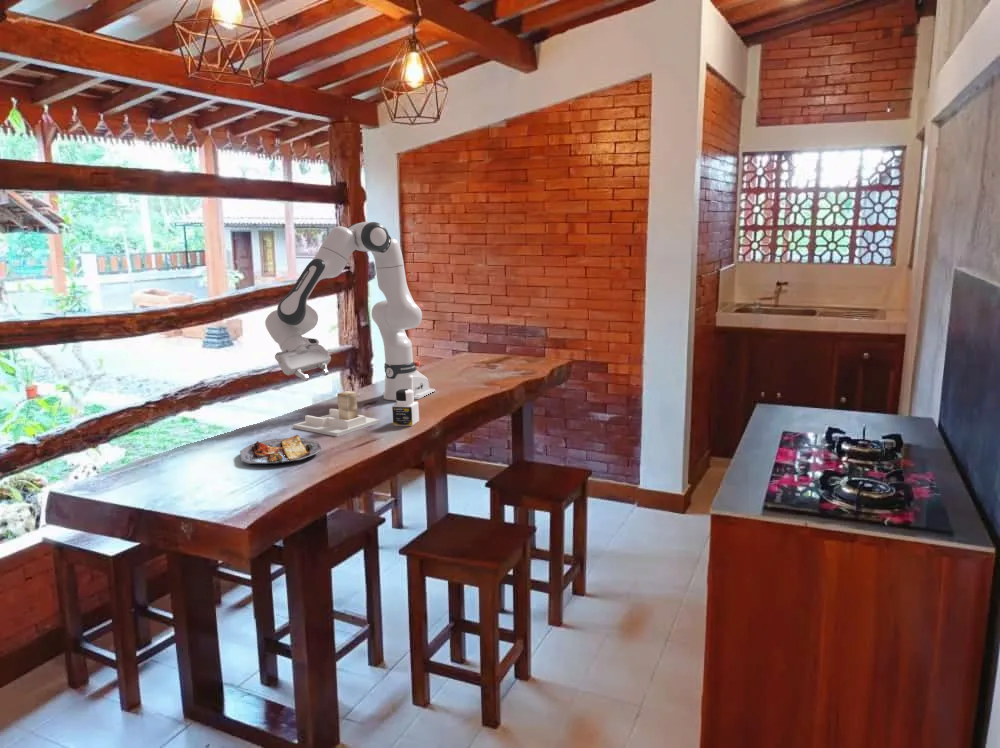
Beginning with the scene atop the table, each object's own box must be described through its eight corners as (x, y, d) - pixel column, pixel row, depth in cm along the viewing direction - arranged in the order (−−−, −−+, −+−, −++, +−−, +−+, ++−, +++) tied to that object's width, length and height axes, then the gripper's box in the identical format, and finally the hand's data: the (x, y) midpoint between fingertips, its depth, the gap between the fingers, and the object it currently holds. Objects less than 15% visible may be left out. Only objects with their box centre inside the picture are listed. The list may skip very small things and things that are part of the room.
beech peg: (349, 421, 257) (347, 390, 255) (358, 423, 255) (356, 392, 252) (339, 424, 254) (337, 393, 251) (348, 426, 251) (346, 394, 249)
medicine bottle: (393, 425, 255) (391, 391, 253) (400, 420, 262) (398, 387, 260) (412, 426, 253) (410, 392, 251) (419, 421, 260) (417, 387, 258)
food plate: (239, 448, 233) (238, 438, 232) (314, 440, 241) (314, 430, 240) (242, 474, 210) (241, 462, 209) (325, 464, 218) (324, 452, 217)
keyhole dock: (336, 415, 272) (335, 405, 271) (379, 422, 260) (379, 412, 259) (293, 428, 256) (292, 417, 255) (337, 436, 244) (336, 425, 243)
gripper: (275, 348, 257) (297, 377, 253) (320, 338, 273) (341, 365, 270) (269, 359, 260) (290, 389, 257) (313, 349, 277) (334, 376, 273)
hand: (317, 377), depth 264 cm, fingers open, 8 cm apart
